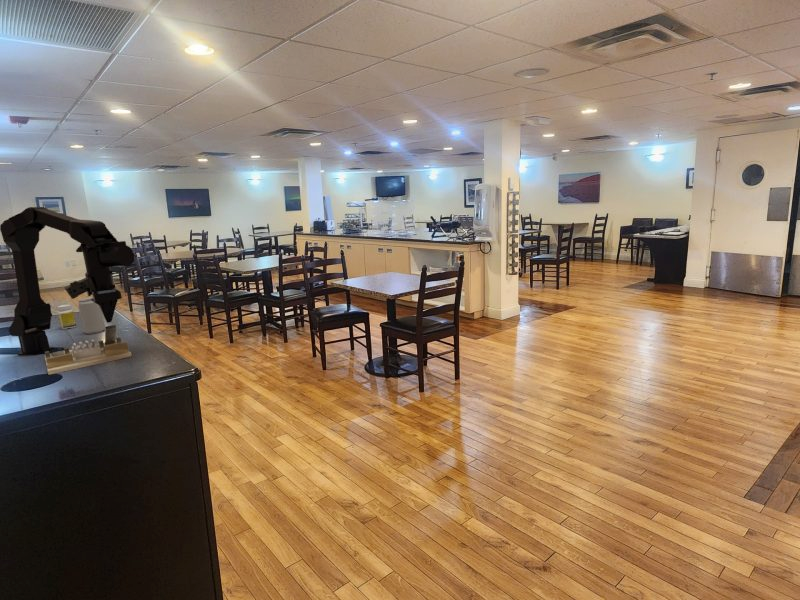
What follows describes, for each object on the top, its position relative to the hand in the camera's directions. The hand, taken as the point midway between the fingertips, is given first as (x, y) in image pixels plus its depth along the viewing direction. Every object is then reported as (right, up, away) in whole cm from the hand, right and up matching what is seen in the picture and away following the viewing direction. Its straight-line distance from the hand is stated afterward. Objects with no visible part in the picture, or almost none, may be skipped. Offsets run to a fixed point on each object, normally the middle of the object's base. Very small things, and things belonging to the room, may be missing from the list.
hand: (109, 322), depth 135 cm
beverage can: (-24, -5, +31) cm, 39 cm away
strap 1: (-11, -10, -4) cm, 15 cm away
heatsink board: (-6, -10, 0) cm, 12 cm away
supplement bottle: (-40, -4, +41) cm, 57 cm away
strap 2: (-2, -4, +4) cm, 6 cm away
